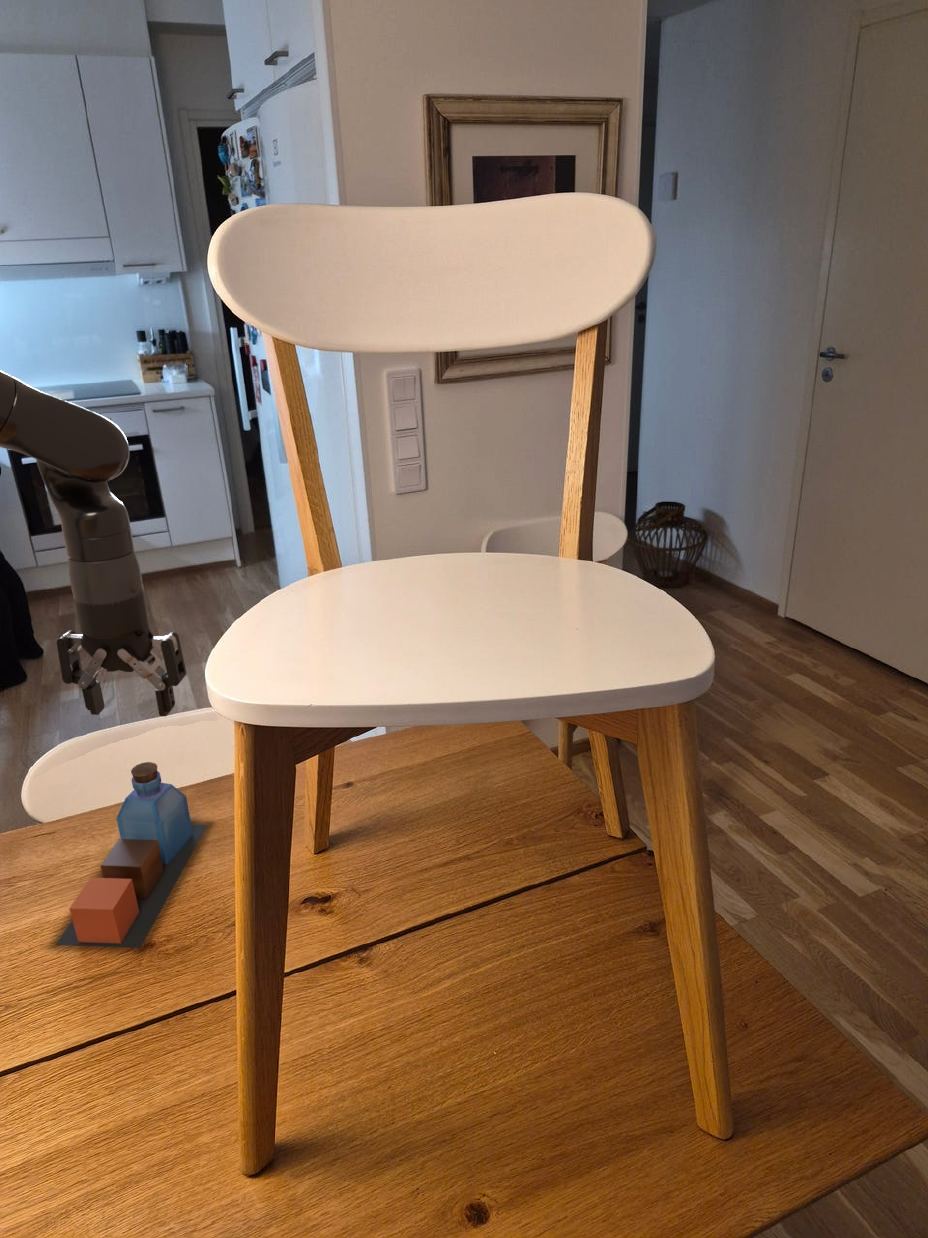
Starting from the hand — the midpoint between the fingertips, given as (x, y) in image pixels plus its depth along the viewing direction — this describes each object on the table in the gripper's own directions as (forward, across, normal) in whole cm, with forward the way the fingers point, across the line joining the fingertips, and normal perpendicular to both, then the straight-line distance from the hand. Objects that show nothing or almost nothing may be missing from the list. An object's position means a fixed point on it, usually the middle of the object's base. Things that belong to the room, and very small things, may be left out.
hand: (131, 712), depth 101 cm
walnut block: (+20, 0, +7) cm, 22 cm away
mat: (+21, 0, +6) cm, 22 cm away
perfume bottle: (+20, 0, 0) cm, 20 cm away
